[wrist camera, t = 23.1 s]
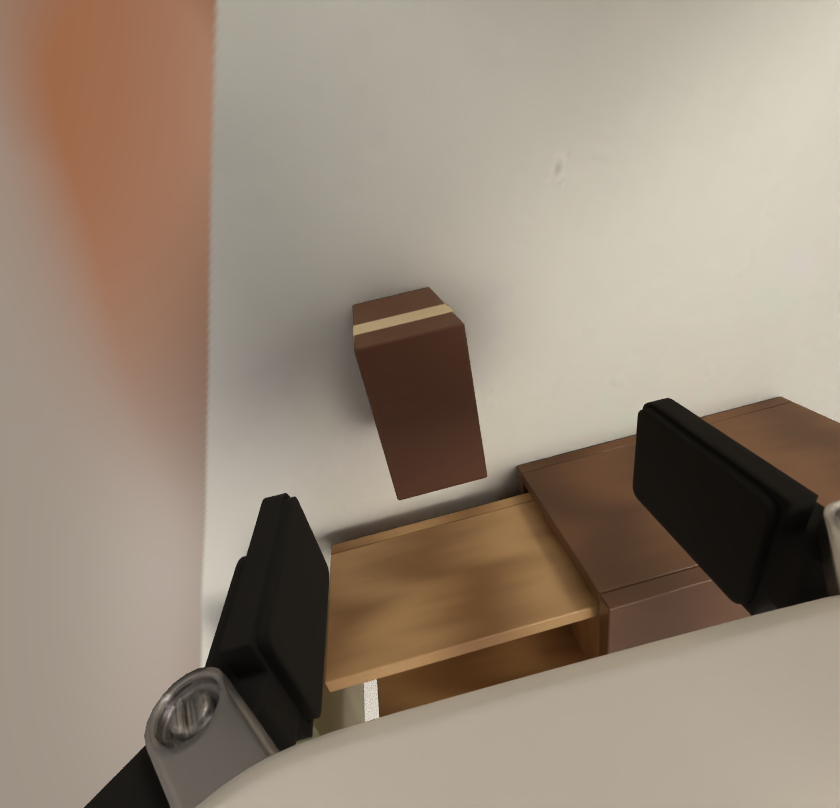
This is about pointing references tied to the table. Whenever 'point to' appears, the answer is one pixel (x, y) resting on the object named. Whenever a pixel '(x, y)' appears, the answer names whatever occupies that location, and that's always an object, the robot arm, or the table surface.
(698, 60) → the table surface
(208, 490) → the table surface
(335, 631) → the drawer
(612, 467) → the cabinet
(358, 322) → the snack box
